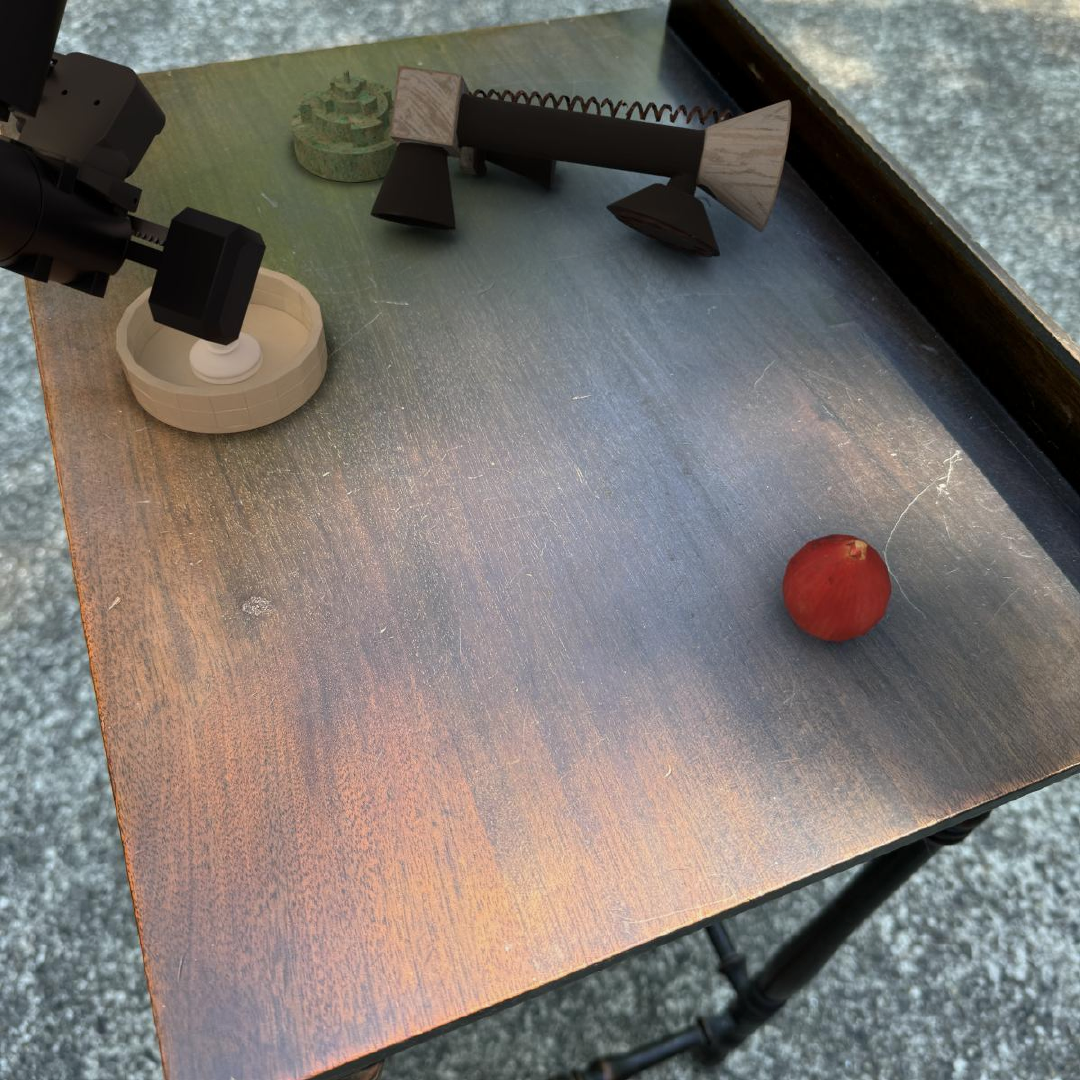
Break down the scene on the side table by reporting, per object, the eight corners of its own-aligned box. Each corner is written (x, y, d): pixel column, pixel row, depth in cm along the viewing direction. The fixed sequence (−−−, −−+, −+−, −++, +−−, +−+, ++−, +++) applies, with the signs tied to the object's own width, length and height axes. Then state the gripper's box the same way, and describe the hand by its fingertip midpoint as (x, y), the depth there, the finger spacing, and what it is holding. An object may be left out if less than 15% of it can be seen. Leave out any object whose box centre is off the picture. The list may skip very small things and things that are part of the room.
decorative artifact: (320, 111, 92) (277, 170, 86) (311, 33, 87) (263, 90, 81) (426, 130, 91) (389, 191, 85) (423, 53, 86) (384, 111, 80)
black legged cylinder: (736, 284, 88) (397, 232, 89) (764, 133, 86) (416, 81, 87) (764, 268, 73) (357, 206, 74) (799, 84, 71) (378, 22, 72)
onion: (751, 599, 61) (783, 513, 54) (834, 574, 62) (874, 488, 56) (800, 679, 57) (840, 597, 51) (886, 651, 59) (935, 568, 53)
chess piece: (177, 376, 69) (139, 252, 61) (209, 331, 72) (177, 207, 64) (245, 391, 69) (215, 268, 61) (274, 345, 72) (250, 222, 64)
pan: (130, 447, 66) (115, 407, 63) (130, 315, 74) (116, 275, 71) (338, 419, 68) (332, 380, 66) (316, 294, 76) (310, 255, 73)
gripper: (206, 81, 45) (358, 184, 60) (-118, -17, 49) (100, 102, 64) (136, 325, 46) (301, 365, 61) (-173, 209, 50) (53, 274, 65)
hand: (187, 270), depth 63 cm, fingers open, 9 cm apart
